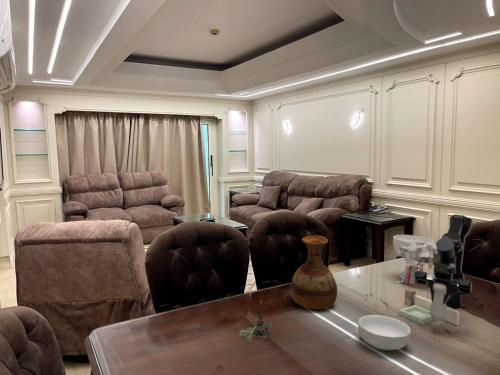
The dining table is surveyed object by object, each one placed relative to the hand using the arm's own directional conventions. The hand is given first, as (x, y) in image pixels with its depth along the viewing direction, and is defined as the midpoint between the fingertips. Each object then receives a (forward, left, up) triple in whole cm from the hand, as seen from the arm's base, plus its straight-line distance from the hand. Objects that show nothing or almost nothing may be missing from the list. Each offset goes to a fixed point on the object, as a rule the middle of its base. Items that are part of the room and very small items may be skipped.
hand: (438, 302), depth 132 cm
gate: (-14, -11, -11) cm, 21 cm away
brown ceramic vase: (+24, -42, -12) cm, 49 cm away
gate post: (-14, -23, -12) cm, 29 cm away
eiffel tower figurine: (+57, -28, -12) cm, 65 cm away
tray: (-6, -13, -12) cm, 18 cm away
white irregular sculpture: (-39, -42, -12) cm, 58 cm away
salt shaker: (-1, -1, -7) cm, 7 cm away
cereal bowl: (+24, -3, -12) cm, 27 cm away
